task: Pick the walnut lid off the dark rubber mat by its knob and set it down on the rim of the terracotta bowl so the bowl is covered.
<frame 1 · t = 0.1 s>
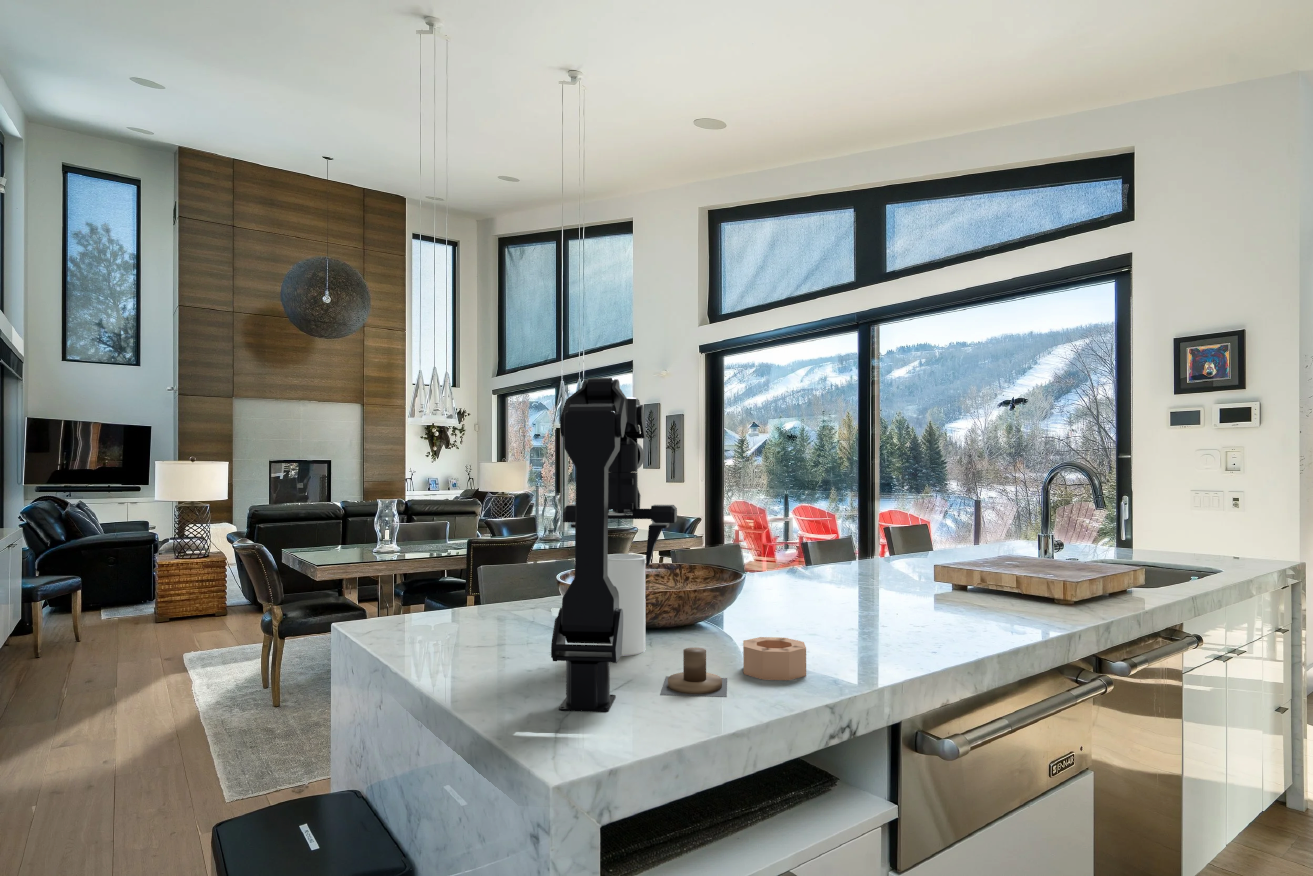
hand: (620, 565, 127), 15 cm above the worktop, fingers open, 9 cm apart
lid: (694, 686, 106), resting on mat
cup: (621, 653, 128), on the worktop
mat: (694, 689, 106), on the worktop
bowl: (774, 673, 114), on the worktop
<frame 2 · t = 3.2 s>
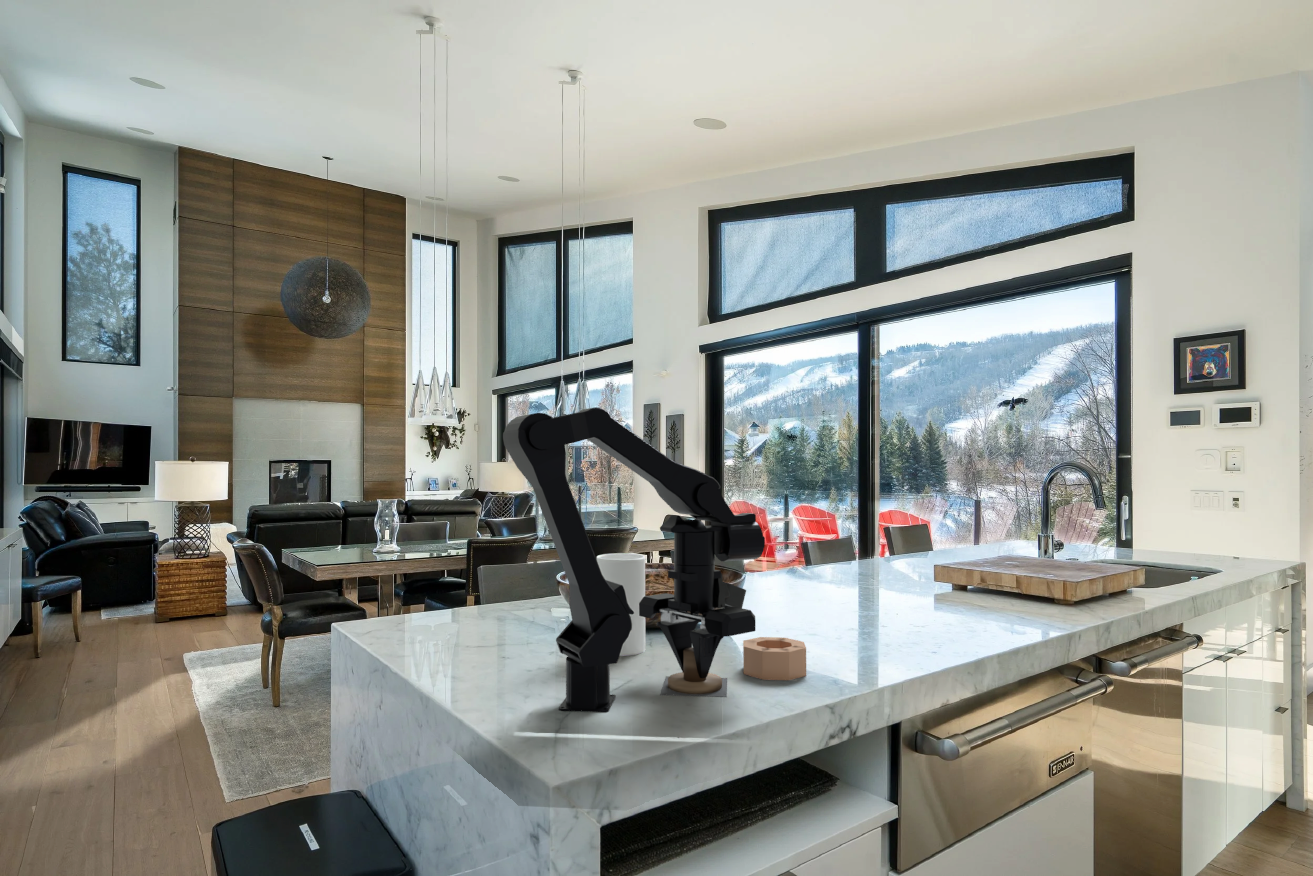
hand: (694, 675, 106), 2 cm above the worktop, fingers closed on lid, 3 cm apart
lid: (694, 686, 106), resting on mat, touching gripper
everything else where it was.
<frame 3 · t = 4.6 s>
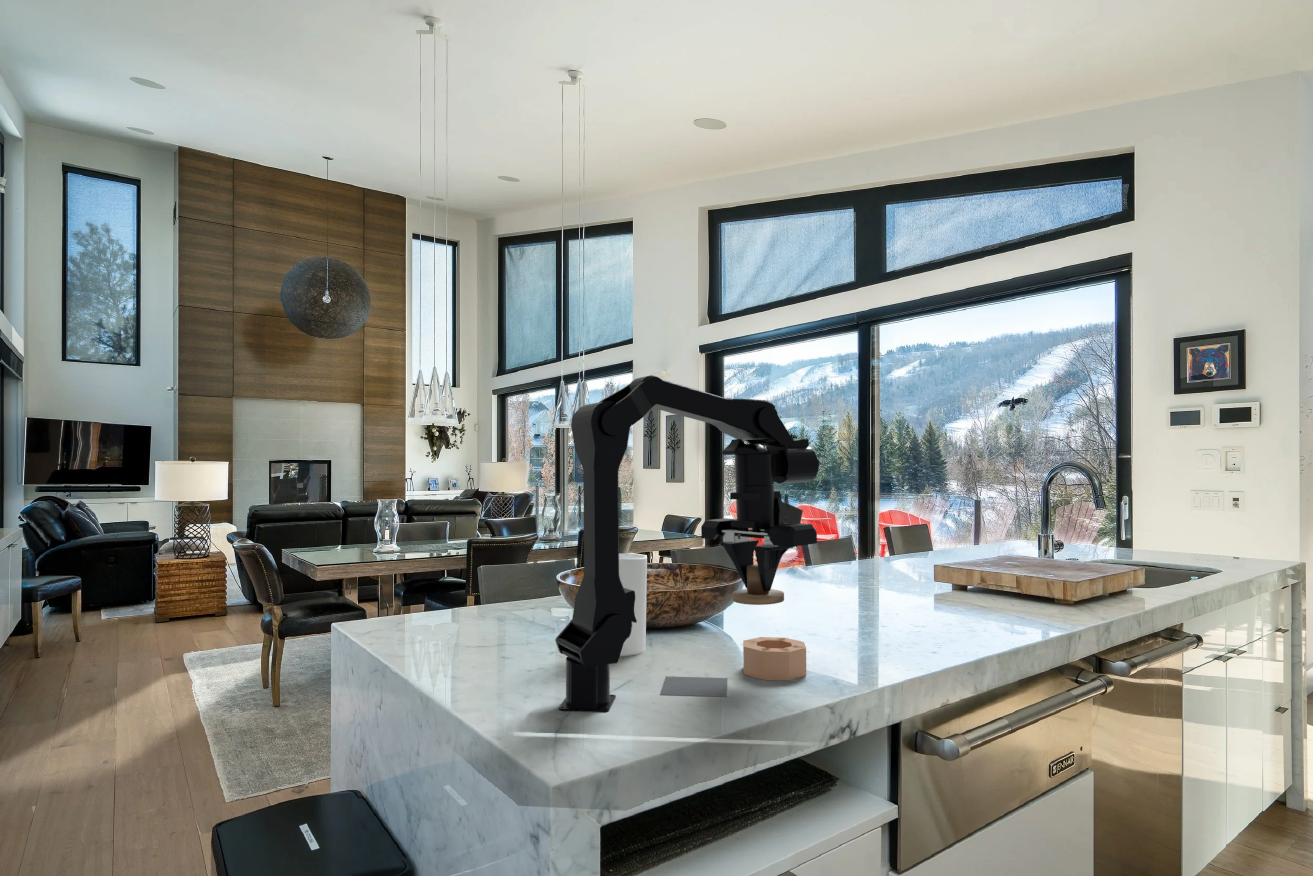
hand: (758, 589, 113), 13 cm above the worktop, fingers closed on lid, 3 cm apart
lid: (758, 599, 113), point 11 cm above the worktop, touching gripper
everything else where it was.
when the fingers open (7 cm above the worktop, at t = 6.0 s): lid drops 1 cm, resting on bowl.
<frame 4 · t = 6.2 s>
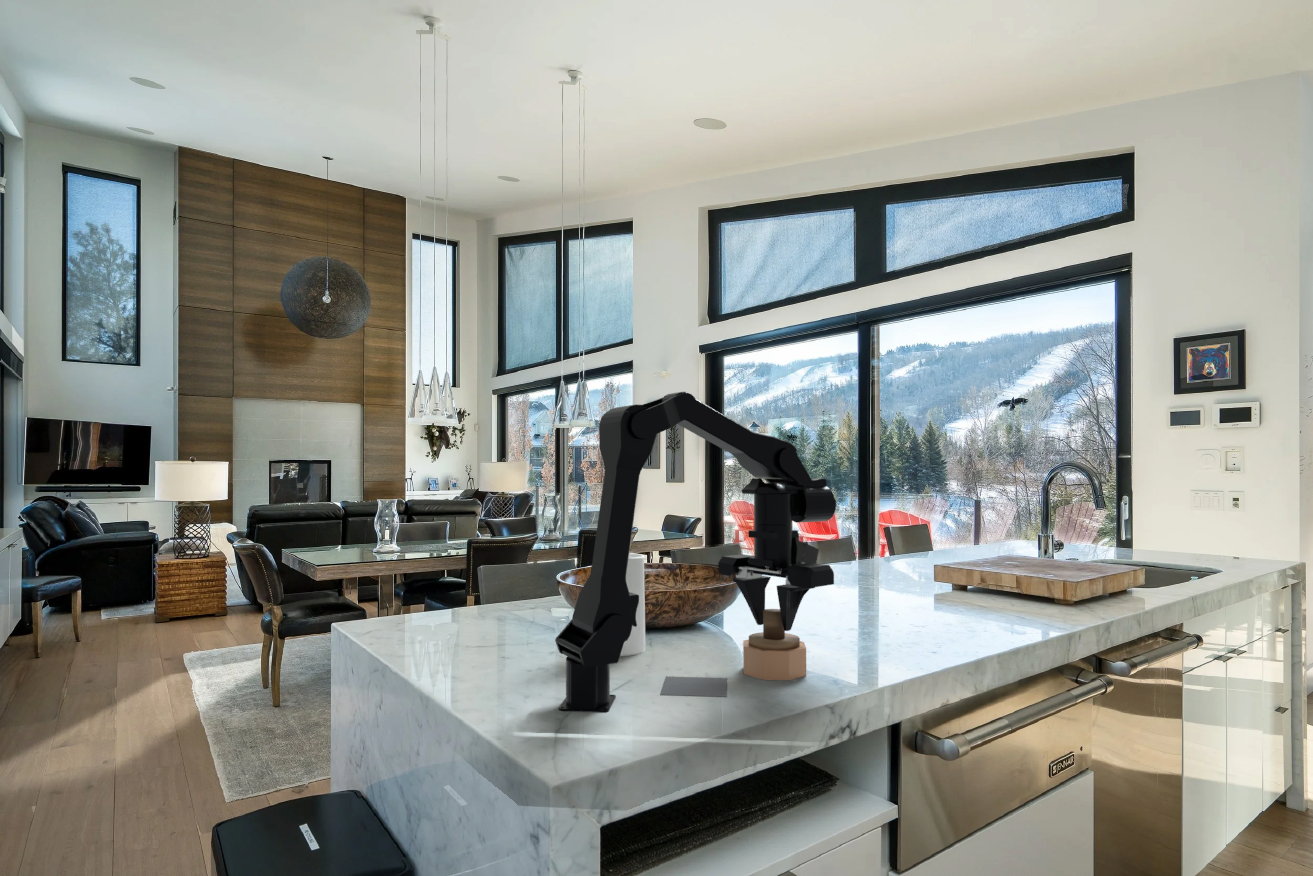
hand: (773, 627, 114), 7 cm above the worktop, fingers open, 5 cm apart
lid: (774, 644, 114), point 4 cm above the worktop, touching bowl
everything else where it was.
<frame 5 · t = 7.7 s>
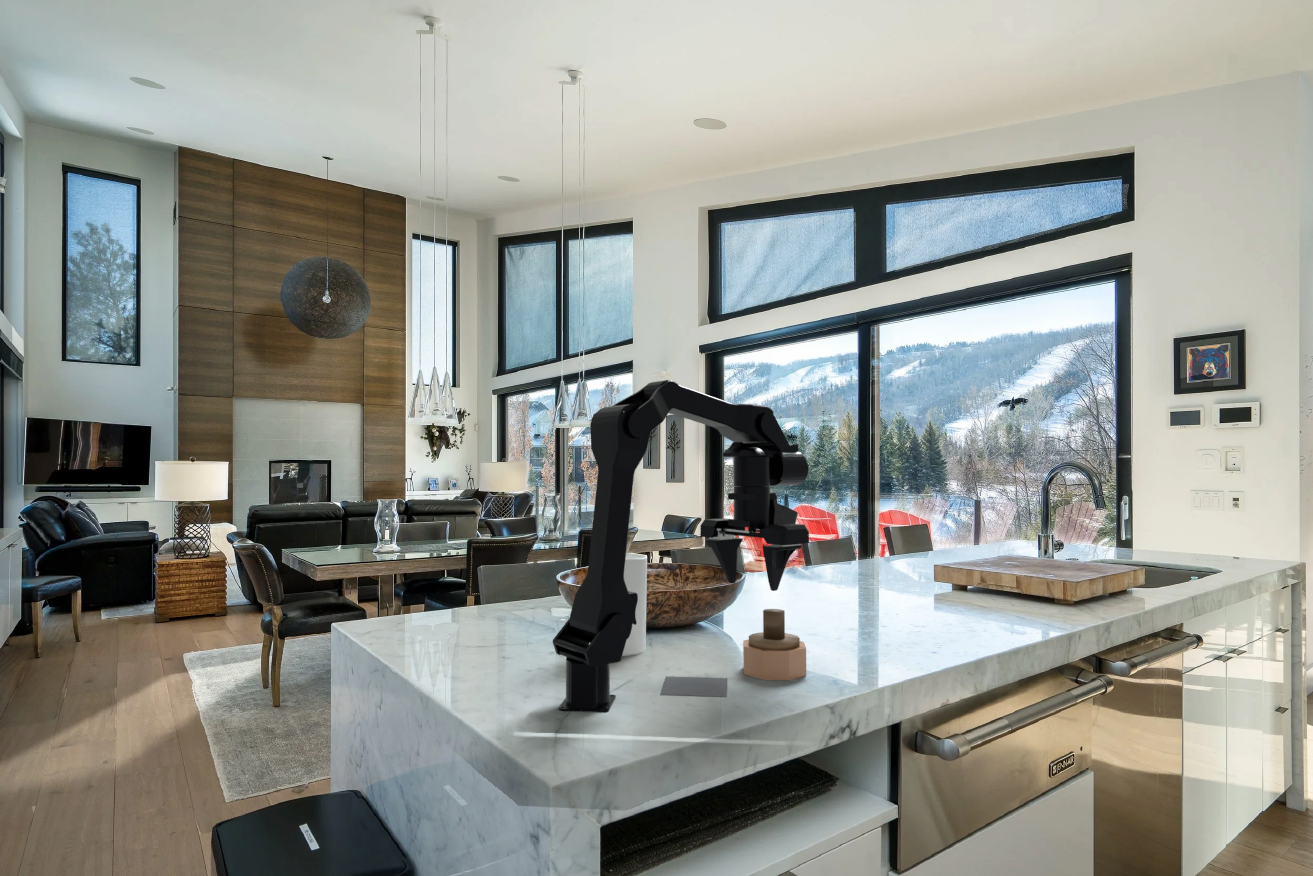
hand: (752, 586, 118), 12 cm above the worktop, fingers open, 9 cm apart
nothing on the worktop moved.
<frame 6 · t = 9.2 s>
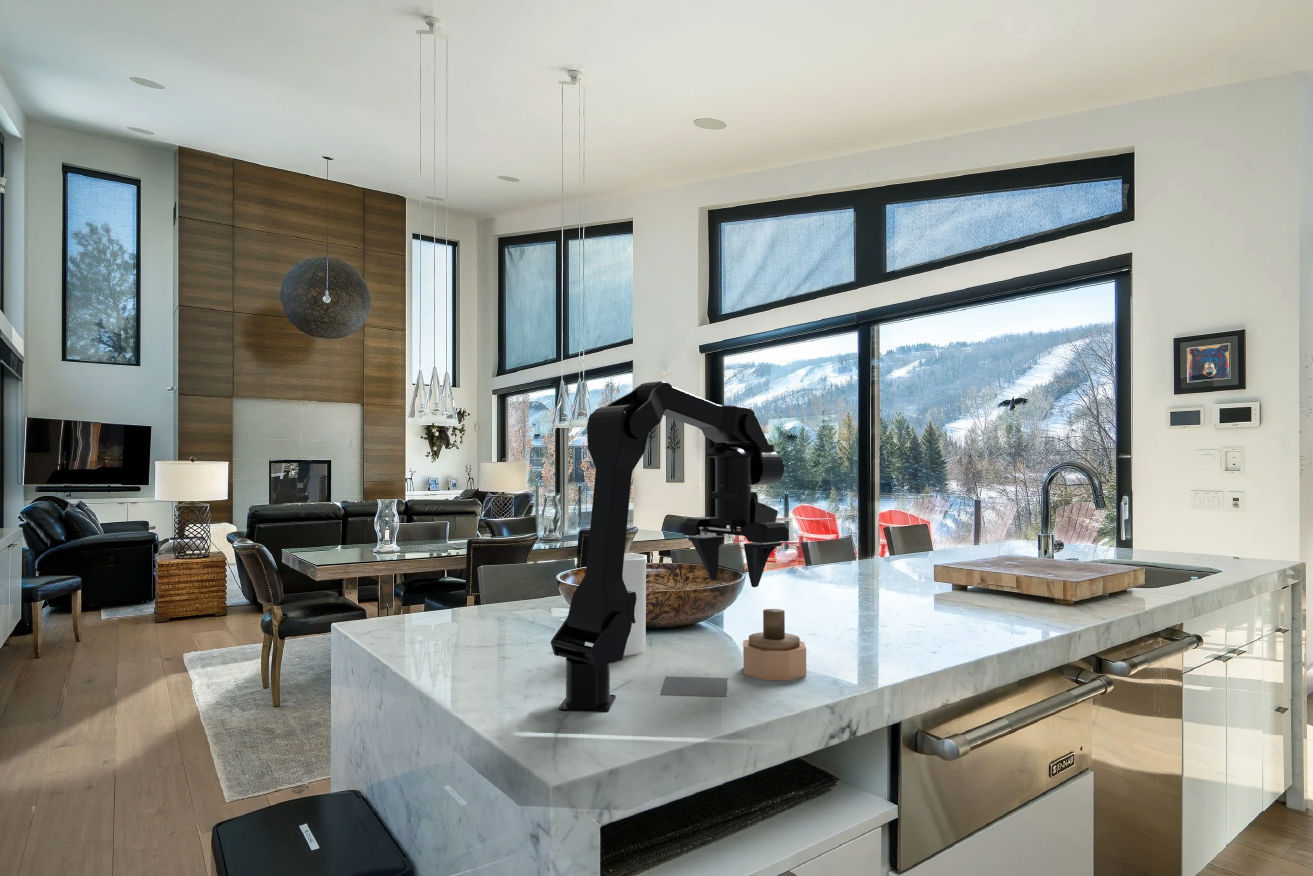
hand: (733, 583, 121), 12 cm above the worktop, fingers open, 9 cm apart
nothing on the worktop moved.
at the end: lid 0.0 cm off-centre on the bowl, point 4.4 cm above the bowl's base; lid tilted 0°; the gripper is holding nothing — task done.
